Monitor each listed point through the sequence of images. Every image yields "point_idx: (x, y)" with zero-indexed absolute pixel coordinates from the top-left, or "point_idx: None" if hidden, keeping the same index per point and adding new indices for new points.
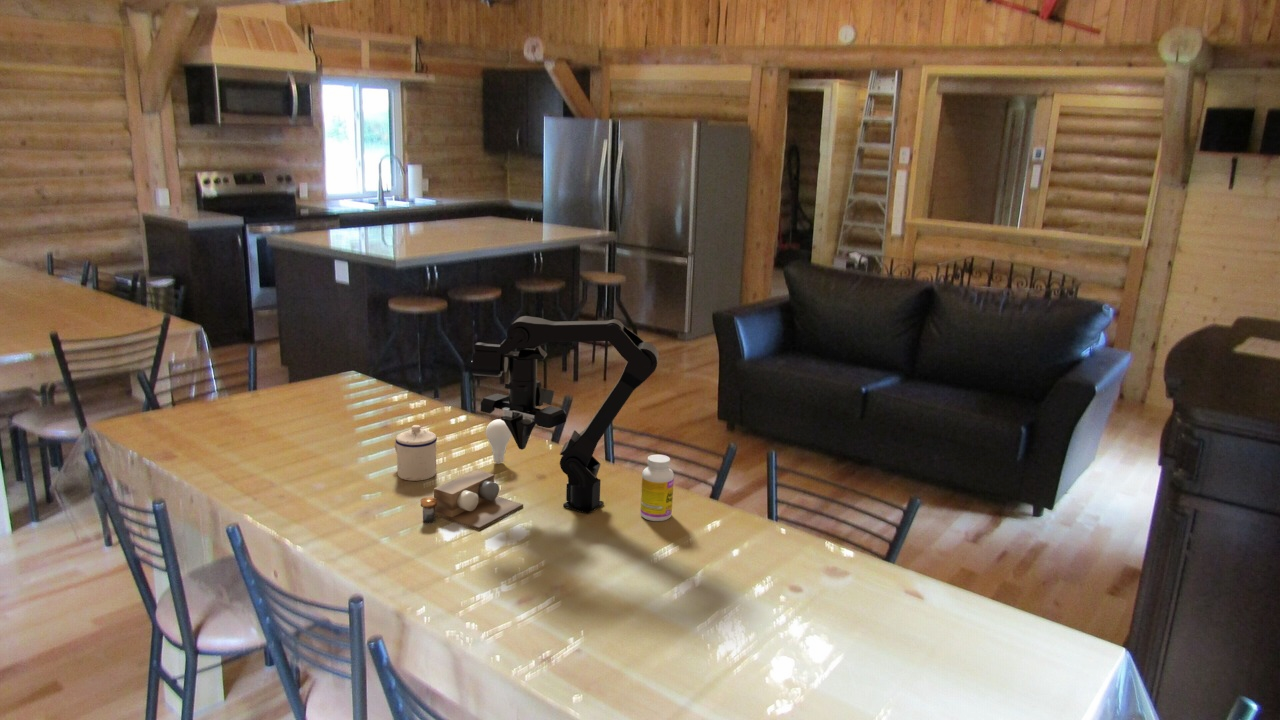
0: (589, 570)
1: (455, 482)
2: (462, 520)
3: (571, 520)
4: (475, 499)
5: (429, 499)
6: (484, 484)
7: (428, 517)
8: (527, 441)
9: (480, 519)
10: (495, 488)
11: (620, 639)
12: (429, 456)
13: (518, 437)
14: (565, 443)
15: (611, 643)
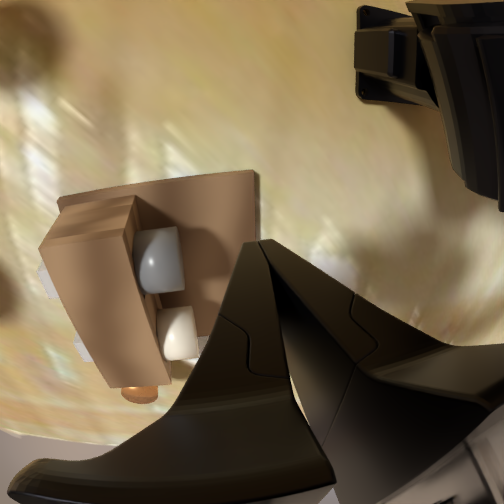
0: (474, 281)
1: (104, 347)
2: (201, 331)
3: (409, 155)
4: (193, 325)
5: (137, 392)
6: (157, 291)
7: None
8: (307, 265)
9: None
10: (178, 252)
11: (497, 333)
12: None
13: (293, 375)
14: (493, 58)
15: (491, 341)
